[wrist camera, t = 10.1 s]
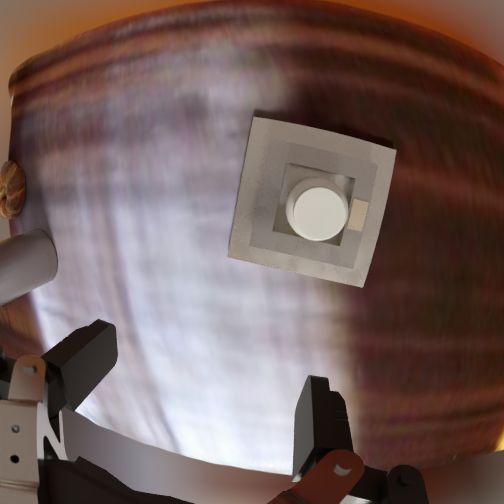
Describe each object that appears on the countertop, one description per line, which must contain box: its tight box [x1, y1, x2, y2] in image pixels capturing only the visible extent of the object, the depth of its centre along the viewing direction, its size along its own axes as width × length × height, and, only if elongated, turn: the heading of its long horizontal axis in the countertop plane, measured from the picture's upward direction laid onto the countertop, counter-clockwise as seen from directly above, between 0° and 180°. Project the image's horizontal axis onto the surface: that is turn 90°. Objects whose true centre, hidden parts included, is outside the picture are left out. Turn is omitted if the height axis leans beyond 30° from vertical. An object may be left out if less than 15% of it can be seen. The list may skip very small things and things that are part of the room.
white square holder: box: [228, 117, 396, 287], centre depth 29 cm, size 16×16×4 cm
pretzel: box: [0, 160, 26, 220], centre depth 36 cm, size 12×11×4 cm
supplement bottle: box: [286, 178, 348, 241], centre depth 25 cm, size 5×5×10 cm
